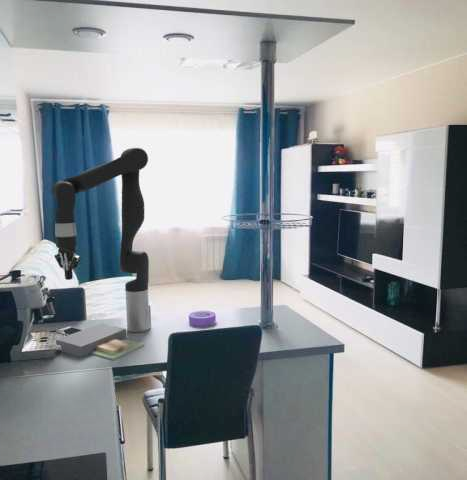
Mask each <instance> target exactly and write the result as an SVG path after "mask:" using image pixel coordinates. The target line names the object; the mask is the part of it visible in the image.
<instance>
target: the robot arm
mask: <svg viewBox="0 0 467 480" xmlns="http://www.w3.org/2000/svg"><path fill="white" fill-rule="evenodd" d="M148 155H149V154H147V152H146V150H144V149H143V148H141V147H130V148H127V149H126V150H123V151H122V153H121V154H120V156H119V157H118V158H115V159H113V160H112V161H109V162H107V163H103V164H100V165H97V166H94V167H92V168H88V169H87V170H84V171H83V172H80V173H78V174H77V175H74V176H71V177H68V178H65V179H61V180H59V181H57V182H55V183H54V184H53V185H52V187H51V190H50V191H51V192H50V193H51V195H52V197H53V198H54V199H55V200H56V208H55V210H54V222H55V224H54V225H55V226H54V234H55V247H56V248H57V249H58V250H57V253H56V254H54V258H55V261H56V262H57V264H58V266H59V267H60V269H63V271H64V278H65V280H68V281H70V280H73V277H74V276H73V270H74V269H76V268H77V266H78V264H79V263H80V261H81V258H82V257H81V255H78V254H77V250H76V247H77V246H78V240H77V238H78V237H77V226H76V221H75V220H76V219H75V207H76V195H77V194H80V193H82V192H83V193H84V192H86V191H87V192H88V191H90V190H91V189H94V188H96V187H98V186H100V185H103V184H105V183H106V182H108V181H111V180H112V179H114V178H117V177H118V176H121V184H122V185H121V243H120V254H119V257H120V258H119V266H120V269H121V272H123V273H125V274H136V277H135V279H132V280H129V281H127V282H126V283H125V288H124V289H125V305H126V306H125V309H126V327H127V329H126V331H128V332H130V333H144V332H146V331H148V330H150V328H151V327H152V316H151V315H152V313H151V305H150V304H149V281H150V280H149V277H150V276H149V275H150V274H149V266H150V265H149V264H150V261H149V255H148V253H147V252H146V251H144V250H143V251H139V250H133V244H134V243H133V242H134V239H135V238H136V235H137V234H138V232H139V230H140V228H141V227H142V225H143V223H144V221H145V200H144V197H143V193H142V190H141V188H140V170H142V169H144V168H145V167H146V166H147V164H148V162H149V156H148Z"/></svg>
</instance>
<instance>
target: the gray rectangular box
mask: <svg viewBox="0 0 467 480" xmlns="http://www.w3.org/2000/svg"><path fill="white" fill-rule="evenodd" d="M81 330H82V331H79V332H76V333H73V334H71V335H68V336H66V335H64V336H63V337H60V338H57V339H55V345H56V344H57V345H60V346H61V351H60V352H63V353H66V354H69V355H72V356H75V357H80V358H84V357H86V356H89V355H92V352H94V351H96V346H97V345H100V344H102V343H105V342H107V341H110V340H112V339H117V340H123V339H126V340H127V329H126V328H123V327H120V326H119V327H118V326H115V325H111V324H105V323H101V322H100V323H98V324H95V325H93V326H91V327H87V328H85V329H81Z"/></svg>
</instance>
